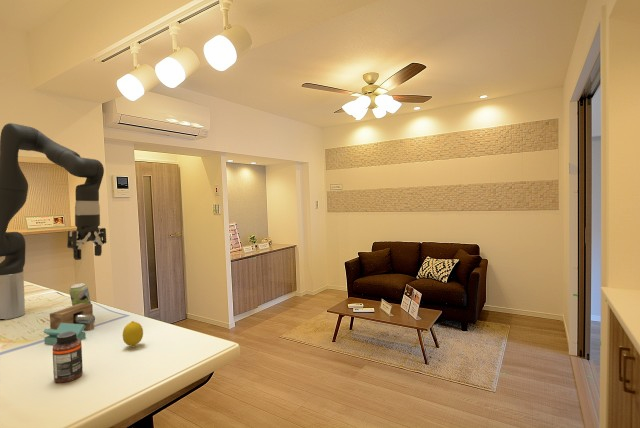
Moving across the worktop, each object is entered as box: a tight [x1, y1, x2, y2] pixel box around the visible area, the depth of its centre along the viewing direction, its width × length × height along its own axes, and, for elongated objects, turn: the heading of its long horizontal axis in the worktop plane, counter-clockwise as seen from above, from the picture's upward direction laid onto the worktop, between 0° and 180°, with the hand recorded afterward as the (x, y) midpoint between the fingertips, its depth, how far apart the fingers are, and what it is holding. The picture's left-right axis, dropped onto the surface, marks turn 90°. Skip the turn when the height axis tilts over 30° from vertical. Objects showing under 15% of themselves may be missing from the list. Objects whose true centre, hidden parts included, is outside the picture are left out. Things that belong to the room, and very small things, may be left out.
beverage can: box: [69, 282, 92, 306], centre depth 136 cm, size 6×7×12 cm
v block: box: [42, 323, 86, 346], centre depth 109 cm, size 9×7×5 cm
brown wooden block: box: [49, 303, 95, 331], centre depth 120 cm, size 10×12×7 cm
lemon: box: [122, 320, 144, 348], centre depth 104 cm, size 6×6×8 cm
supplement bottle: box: [52, 331, 84, 383], centre depth 86 cm, size 6×6×11 cm
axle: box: [73, 314, 96, 324], centre depth 120 cm, size 14×3×3 cm, turn 79°
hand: (88, 257), depth 123 cm, fingers open, 8 cm apart
